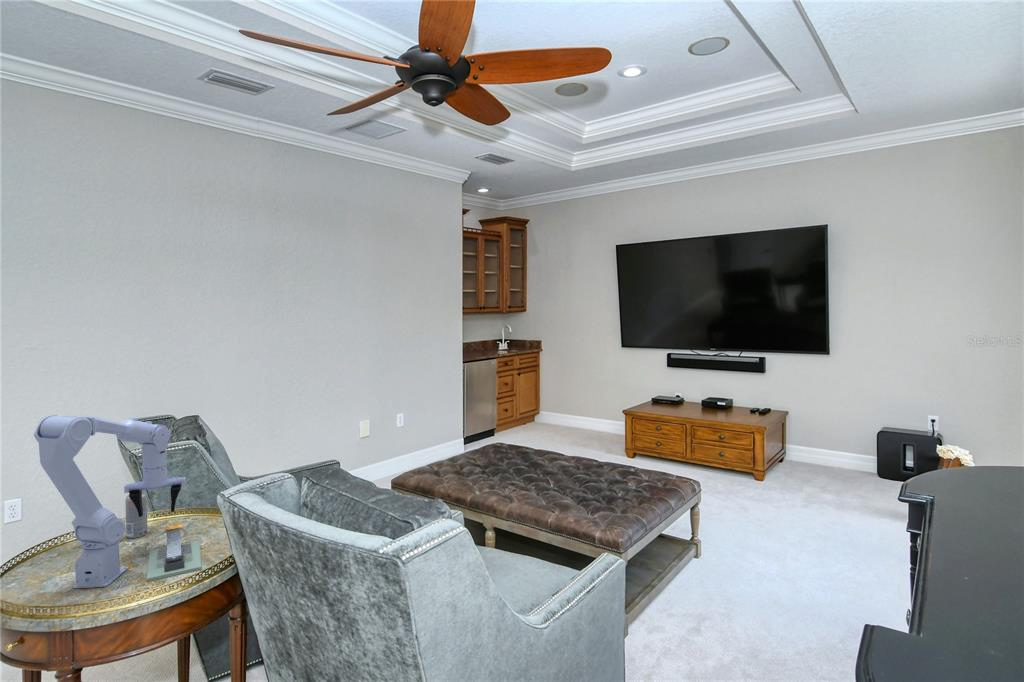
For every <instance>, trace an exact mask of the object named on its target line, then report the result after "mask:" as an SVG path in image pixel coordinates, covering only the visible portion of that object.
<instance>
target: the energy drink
mask: <svg viewBox="0 0 1024 682" xmlns="http://www.w3.org/2000/svg"><path fill="white" fill-rule="evenodd" d="M124 500H125V536H126V537H127V538H128V539H137V538H136V537H138V538H141V537H144V536H146V534H147V533H148V497H147V493H144V492H142V507H143V515H142V517H139V514H138V511H137V509H136V507H135V505H134V503H133V502H132V500H131V499H130V497H129V494H128V495H127V496H126V497H125V499H124ZM143 535H144V536H143ZM140 536H141V537H140Z"/></svg>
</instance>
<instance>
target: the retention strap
mask: <svg viewBox="0 0 1024 682" xmlns="http://www.w3.org/2000/svg"><path fill="white" fill-rule="evenodd" d="M182 530H183V524H182V523H179V524H173V525H168V526H164V533H165V534H166V547H167V558H166V563H167V562H171V561H176V560H181V559H182V555H181V544H182V541H181V537H182V536H181V535H182V533H181V531H182Z"/></svg>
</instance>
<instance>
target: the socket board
mask: <svg viewBox="0 0 1024 682" xmlns="http://www.w3.org/2000/svg"><path fill="white" fill-rule="evenodd" d="M190 543H191V549H192V561H189V562H184V559H181V560H176V561H171V562H167V563H166V562H165V563H164V567H161V568H157V563H156V560H157V549H158V548H157V549H153V550H149V554H148V563H147V564H148V565H147V571H146V573H147V574H146V582H152V581H157V580H162V579H165V578H169V577H175V576H179V575H184V574H187V573H192V572H197V571H201V570H202V560H201V547H200V546H201V545H200V540H198V541H191V542H190ZM182 544H183V543H181V545H182ZM185 544H187V543H185ZM162 548H163V547H162ZM162 548H160V549H162ZM165 548H167V546H166V547H165Z"/></svg>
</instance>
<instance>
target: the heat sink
mask: <svg viewBox="0 0 1024 682" xmlns="http://www.w3.org/2000/svg"><path fill="white" fill-rule="evenodd" d="M181 544H182V545H181V555H182V559H184V562H189V561H192V549H191V542H188V543H187V544H186V543H181ZM166 558H167V548H166V547H162V549H161V548H157V560H156V563H157V568H161V567H164V563H165V562H166Z"/></svg>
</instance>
